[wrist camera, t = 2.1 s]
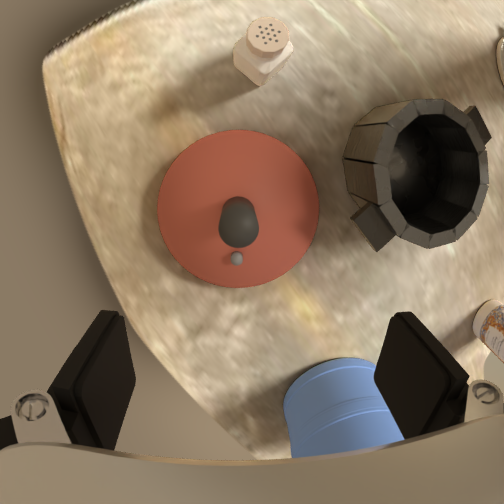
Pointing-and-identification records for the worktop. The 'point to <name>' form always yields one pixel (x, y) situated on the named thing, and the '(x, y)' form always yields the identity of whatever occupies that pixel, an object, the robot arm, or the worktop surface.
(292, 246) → the lid
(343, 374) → the water jug
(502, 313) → the bath foam
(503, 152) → the worktop surface
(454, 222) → the pot
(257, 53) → the pepper shaker
